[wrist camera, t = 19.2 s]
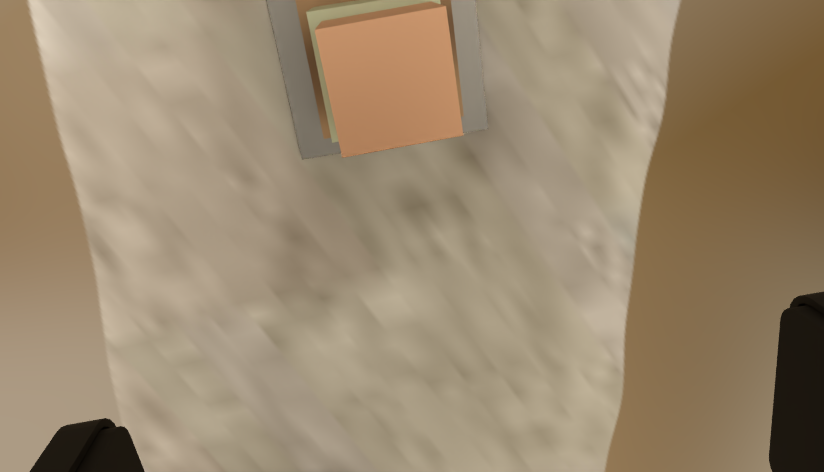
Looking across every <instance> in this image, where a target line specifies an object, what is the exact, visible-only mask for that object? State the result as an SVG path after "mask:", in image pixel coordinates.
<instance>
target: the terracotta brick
mask: <svg viewBox="0 0 824 472" xmlns="http://www.w3.org/2000/svg"><path fill="white" fill-rule="evenodd" d="M315 35H316V39H317V44H318V48H319V53H320V58H321V62H322V67H323V71H324V76H325V81H326V85H327V90H328V94H329V99H330V104H331V108H332V113H333V118H334V122H335V127H336V131H337V136H338V141H339V145H340V150H341V154H342V158H343V157H349V156H354V155H360V154H365V153H371V152H376V151H382V150H387V149H392V148H398V147H403V146H409V145H414V144H420V143H425V142H431V141H436V140H441V139H447V138H452V137H458V136H463V129H462V121H461V114H460V106H459V99H458V92H457V84H456V77H455V69H454V62H453V54H452V47H451V39H450V32H449V25H448V17H447V10H446V6H444V5H441V4H438V3H435V2H432V1H430V2H425V3H419V4H414V5H408V6H403V7H397V8H392V9H386V10H380V11H375V12H369V13H364V14H358V15H353V16H347V17H342V18H336V19H331V20H325V21H321V22H320V24H319V25H318V26H317V27H316V29H315Z"/></svg>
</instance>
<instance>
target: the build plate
mask: <svg viewBox="0 0 824 472" xmlns="http://www.w3.org/2000/svg"><path fill="white" fill-rule="evenodd" d="M267 5H268V9H269V14H270V18H271V23H272V27H273V32H274V36H275V41H276V45H277V50H278V54H279V59H280V63H281V68H282V72H283V77H284V81H285V85H286V90H287V94H288V99H289V103H290V108H291V112H292V117H293V121H294V126H295V130H296V135H297V139H298V144H299V148H300V153H301V157H302V159H308V158H314V157H320V156H326V155H333V154H339V153H341V150H340V145H339V142H334V143H332V139H331V138H327V139H324V137H323V132H322V128H321V123H320V118H319V113H318V108H317V103H316V98H315V94H314V89H313V84H312V79H311V74H310V69H309V64H308V60H307V55H306V50H305V45H304V40H303V35H302V30H301V26H300V21H299V16H298V11H297V6H296V1H295V0H267ZM451 6H452V15H453V24H454V33H455V41H456V50H457V59H458V68H459V77H460V86H461V95H462V104H463V113H464V116H462V117H461V121H462V129H463V133H467V132H473V131H479V130H485V129H488V121H487V111H486V101H485V90H484V80H483V70H482V60H481V49H480V39H479V29H478V19H477V8H476V0H451Z"/></svg>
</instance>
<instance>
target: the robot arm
mask: <svg viewBox="0 0 824 472" xmlns="http://www.w3.org/2000/svg"><path fill="white" fill-rule="evenodd" d="M769 462H770V466H771V469H772V472H824V292H819V293H813V294H807V295H802V296H798V297H796V298H794V300H793V301H792V303H791V304H790V308H788V309H786V310H784V312H783V313H782V316H781V321H780V332H779V344H778V356H777V367H776V380H775V392H774V403H773V415H772V427H771V439H770V450H769ZM30 472H144V469H143V466H142V464H141V461H140V459H139V456H138V454H137V451H136V449H135V446H134V444H133V441H132V439H131V436H130V434H129V432H128V430H127V429H126V428H125V427H122V426H120V427H116V426H115V424H114V423H113V422H112V421H111V420H110V419H106V418H104V419H99V420H93V421H87V422H82V423H76V424H70V425H66V426H63V427H61V428H60V429H59V430H58V431H57V433H56V434H55V435H54V437H53V438H52V440H51V441H50V443H49V444H48V446H47V447H46V448H45V450H44V451H43V453H42V454H41V456H40V457H39V459H38V460H37V462H36V463H35V465H34V466H33V468H32V469H31V470H30Z"/></svg>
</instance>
